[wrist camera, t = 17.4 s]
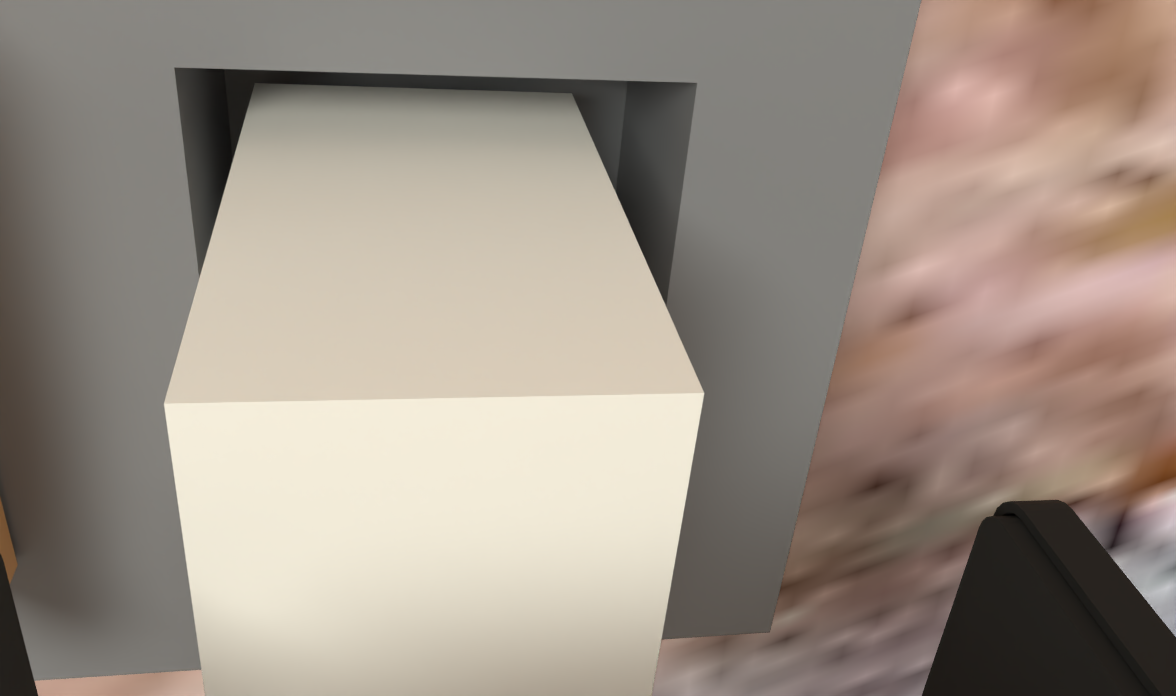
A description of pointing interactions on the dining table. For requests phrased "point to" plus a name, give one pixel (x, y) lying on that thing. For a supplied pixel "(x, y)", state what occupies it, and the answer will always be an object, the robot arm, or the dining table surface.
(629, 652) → the block
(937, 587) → the dining table surface
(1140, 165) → the dining table surface
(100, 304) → the socket
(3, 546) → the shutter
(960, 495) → the dining table surface
